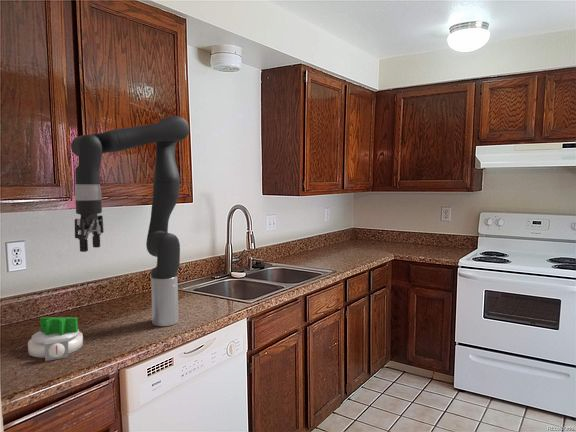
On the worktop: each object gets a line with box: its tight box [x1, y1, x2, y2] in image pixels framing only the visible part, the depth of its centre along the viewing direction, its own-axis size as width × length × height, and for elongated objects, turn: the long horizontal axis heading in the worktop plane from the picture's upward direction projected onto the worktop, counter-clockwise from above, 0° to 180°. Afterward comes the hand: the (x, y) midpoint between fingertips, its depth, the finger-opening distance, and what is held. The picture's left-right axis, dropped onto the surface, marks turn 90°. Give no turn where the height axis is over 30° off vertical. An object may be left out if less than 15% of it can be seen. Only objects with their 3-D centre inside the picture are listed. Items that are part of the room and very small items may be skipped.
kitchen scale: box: [27, 328, 84, 362], centre depth 132 cm, size 18×15×5 cm
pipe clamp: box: [39, 316, 79, 335], centre depth 134 cm, size 11×4×5 cm, turn 89°
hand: (90, 249), depth 137 cm, fingers open, 8 cm apart
